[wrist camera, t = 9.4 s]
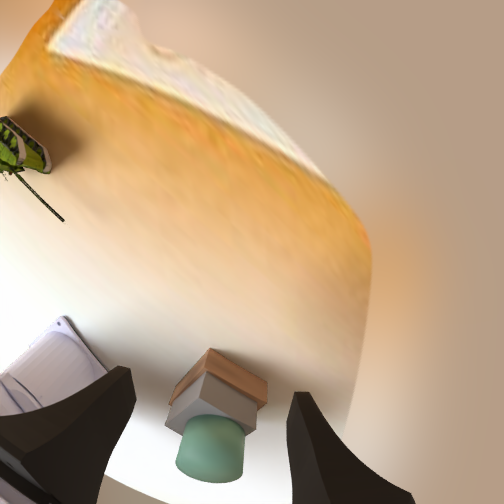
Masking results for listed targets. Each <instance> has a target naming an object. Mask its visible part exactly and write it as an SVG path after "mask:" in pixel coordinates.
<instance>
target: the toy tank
mask: <svg viewBox="0 0 504 504" xmlns="http://www.w3.org/2000/svg"><path fill="white" fill-rule="evenodd" d="M11 121H12V122H11ZM23 132H24V133H23ZM29 137H30V138H31V139H30V138H29ZM37 144H39V145H40V146H39V145H37ZM44 157H45V158H46V159H45V158H44ZM42 158H43V159H42ZM23 167H26V168H30V169H34V170H37V171H38V172H40V173H43V174H44V173H45V174H50V170H51V168H52V163H51V160H50V157H49V154H48V151H47V148H45V147H44V146H43V145H41V144H40V143H39V142H38V141H36V140H35V139H34V138H33V137H31V136H30V135H29V134H28V133H27V132H26V131H25V130H24V129H22V128H21V127H20V126H19V125H18V124H16V123H15V122H14V121H13V120H12V119H11V118H9V117H7V116H5V117H0V173H2V174H3V172H4V171H7V172H9V175H12V173H16V174H17V175H16V174H15V175H16V176H17V178H18V179H19V180H20V181H21V182H22V183H23V184H24V185H25V186H26V187H27V188H28V189H29V190H30V191H31V192H32V193H33V194H34V195H35V196H36V197H37V198H38V199H39V200H40V201H41V202H42V203H43V204H44V205H45V206H46V207H47V208H48V209H49V210H50V211H51V210H52V211H51V212H52V213H53V214H54V215H55V216H57V215H58V216H59V217H58V216H57V217H58V218H59V219H60V220H61V221H62V222H64V221H65V220H64V219H63V218H62V217H61V216H60V215H59V214H58V213H57V212H56V211H55V210H53V209H52V208H51V207H50V206H49V205H48V204H47V203H46V202H45V201H44V200H43V199H42V198H41V197H40V196H39V195H38V194H37V193H36V192H35V191H34V190H33V189H32V188H31V187H30V186H29V185H28V184H27V183H26V182H25V180H24V179H23V178H22V177H21V176H20V175H19V174H18V173H17V172H22V171H25V170H24V168H23ZM3 170H4V171H3ZM5 175H6V174H5ZM3 176H4V174H3ZM5 179H6V178H5ZM6 180H7V179H6ZM7 181H8V180H7ZM24 182H25V183H26V184H27V185H28V186H29V187H30V188H29V187H28V186H27V185H26V184H25V183H24ZM53 211H54V212H55V213H56V214H57V215H56V214H55V213H54V212H53Z"/></svg>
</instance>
